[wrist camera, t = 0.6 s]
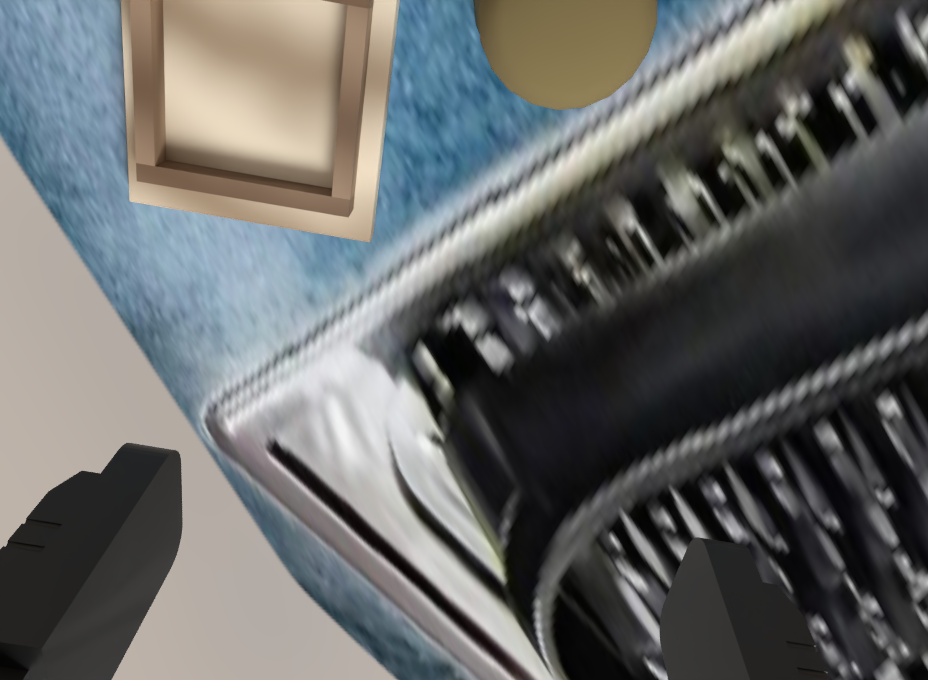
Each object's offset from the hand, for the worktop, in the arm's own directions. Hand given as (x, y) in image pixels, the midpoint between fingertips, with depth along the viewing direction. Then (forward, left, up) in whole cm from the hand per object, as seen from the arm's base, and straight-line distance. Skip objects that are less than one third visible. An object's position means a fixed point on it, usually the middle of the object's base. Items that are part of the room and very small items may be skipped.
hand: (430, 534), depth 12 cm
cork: (-7, +2, -24) cm, 25 cm away
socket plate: (-4, -10, -24) cm, 26 cm away
